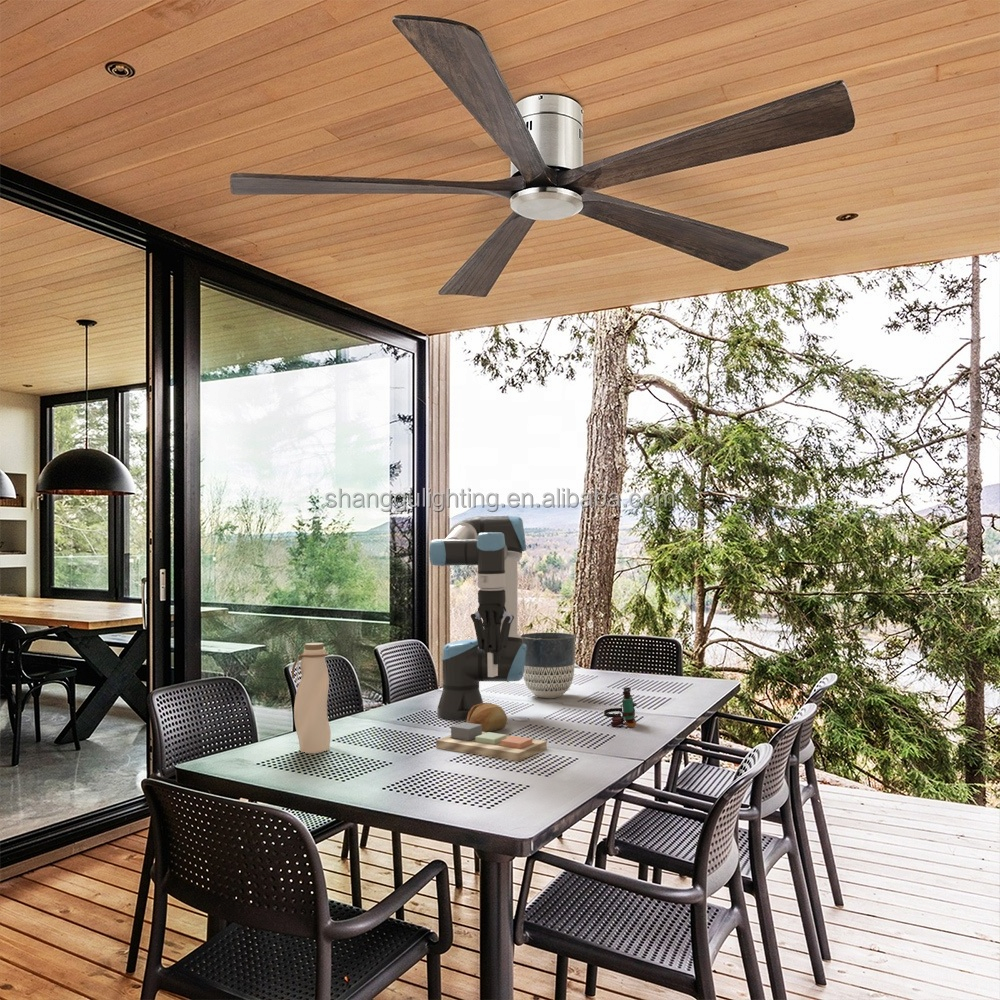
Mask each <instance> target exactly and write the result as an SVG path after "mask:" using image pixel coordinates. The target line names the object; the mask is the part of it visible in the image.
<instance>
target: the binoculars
mask: <svg viewBox="0 0 1000 1000" xmlns="http://www.w3.org/2000/svg"><path fill="white" fill-rule="evenodd" d="M631 691H632V690H631V687H629V686H628V687H624V688H623V691H622V695H623V698H622V705H621V706H620V707H612V708H606V709H605V710H603V716H604V717H606V718H611V721H610V724H611V725H610V726H611V727H614V726H615V727H617V726H621V725H622V726H626V727H628V728H635V727H636V721H637V720H636V719H635V718H636V717H635V714H636V713H635V712H636V710H635V707H636V706H638V705H637V703H636V702H634V699H633V695H632V694H631ZM612 712H613V713H612ZM614 712H618V713H614Z"/></svg>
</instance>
